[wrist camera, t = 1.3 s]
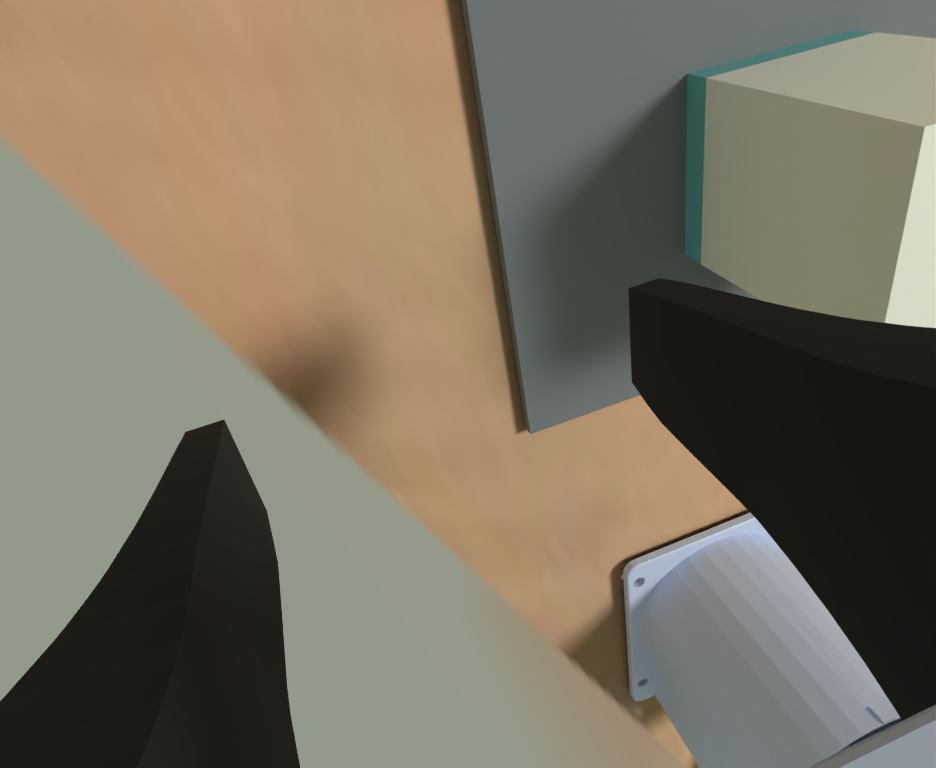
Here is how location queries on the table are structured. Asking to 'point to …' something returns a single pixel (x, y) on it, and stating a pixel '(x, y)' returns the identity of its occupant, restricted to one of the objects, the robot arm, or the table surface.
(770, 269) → the cream block
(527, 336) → the rubber mat
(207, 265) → the table surface
